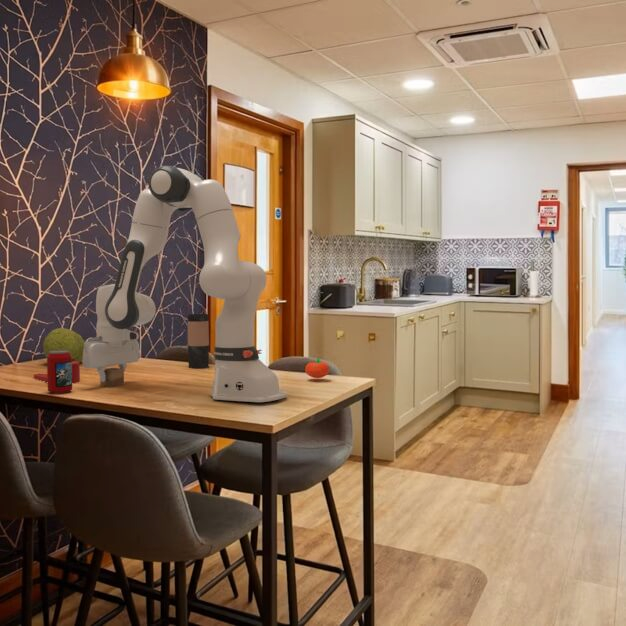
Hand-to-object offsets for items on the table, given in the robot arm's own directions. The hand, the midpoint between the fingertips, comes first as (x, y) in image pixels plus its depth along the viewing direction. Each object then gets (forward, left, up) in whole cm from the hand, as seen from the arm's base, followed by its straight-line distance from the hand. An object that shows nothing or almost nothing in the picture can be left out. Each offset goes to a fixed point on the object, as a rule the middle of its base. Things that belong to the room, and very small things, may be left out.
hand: (112, 379), depth 210 cm
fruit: (+45, -18, -2) cm, 48 cm away
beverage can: (+3, +17, -2) cm, 17 cm away
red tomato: (-47, -46, -2) cm, 65 cm away
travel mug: (+2, -43, -2) cm, 43 cm away
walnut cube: (0, 0, -2) cm, 2 cm away
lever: (+21, +5, -2) cm, 21 cm away
